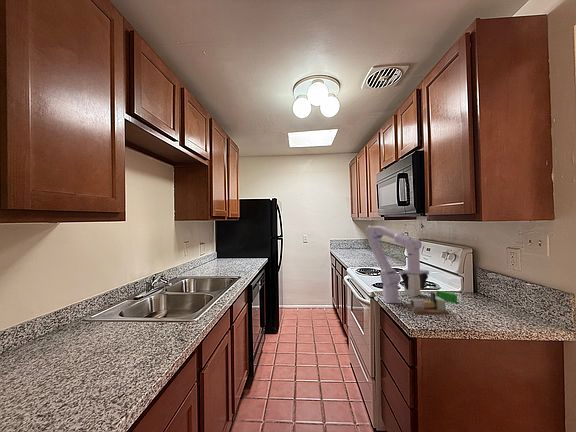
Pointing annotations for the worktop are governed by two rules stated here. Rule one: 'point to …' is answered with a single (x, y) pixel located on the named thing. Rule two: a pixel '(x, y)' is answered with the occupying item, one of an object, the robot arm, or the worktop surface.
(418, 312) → the walnut board
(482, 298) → the worktop surface
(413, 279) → the skincare box
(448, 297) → the green block
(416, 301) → the white cardboard cube
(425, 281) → the robot arm
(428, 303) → the light wooden block
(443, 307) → the socket block
